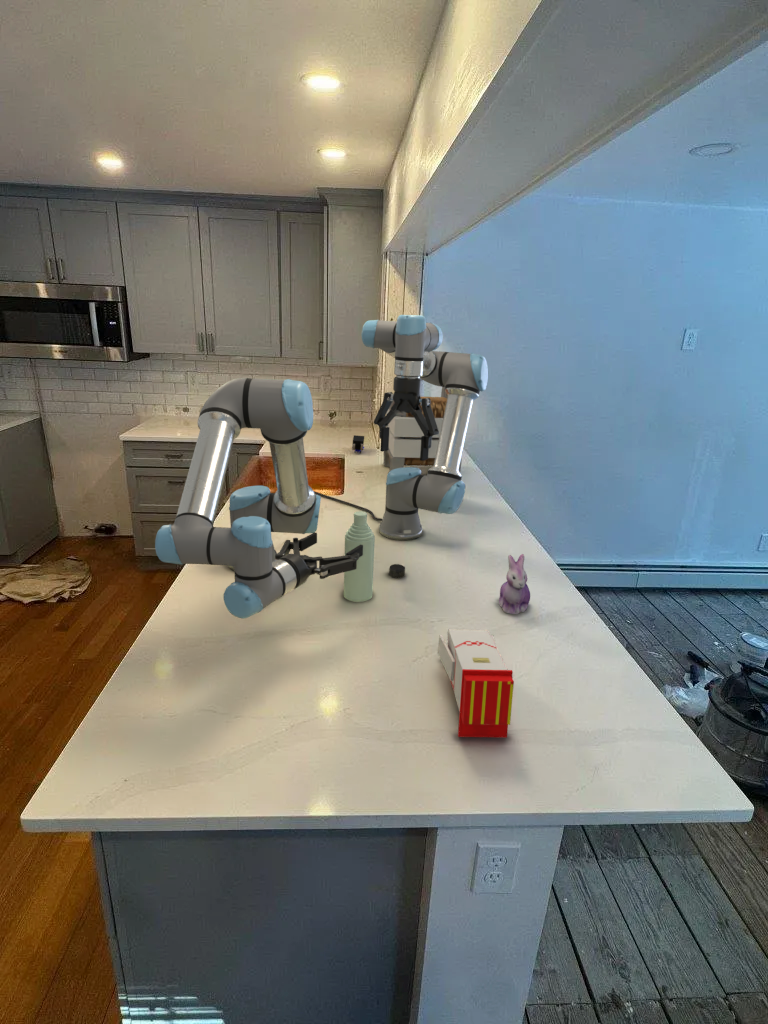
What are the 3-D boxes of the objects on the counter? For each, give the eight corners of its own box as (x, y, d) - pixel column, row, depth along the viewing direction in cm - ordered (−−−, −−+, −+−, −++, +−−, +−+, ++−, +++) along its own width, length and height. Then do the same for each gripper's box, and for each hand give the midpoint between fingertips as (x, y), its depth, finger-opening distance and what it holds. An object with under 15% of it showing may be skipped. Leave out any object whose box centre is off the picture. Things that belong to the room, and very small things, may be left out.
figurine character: (364, 456, 305) (364, 447, 319) (364, 443, 302) (364, 434, 315) (351, 456, 305) (352, 446, 318) (351, 443, 302) (352, 434, 315)
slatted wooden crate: (382, 463, 289) (386, 382, 275) (445, 464, 293) (451, 384, 279) (390, 482, 257) (394, 392, 243) (460, 483, 261) (468, 394, 247)
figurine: (512, 619, 147) (519, 566, 142) (488, 601, 156) (494, 551, 151) (540, 611, 151) (548, 560, 146) (515, 594, 160) (522, 546, 155)
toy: (488, 613, 130) (523, 677, 101) (484, 667, 133) (517, 744, 104) (435, 612, 130) (455, 676, 101) (432, 666, 133) (451, 743, 103)
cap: (386, 572, 170) (387, 565, 170) (401, 570, 172) (401, 563, 171) (392, 579, 166) (392, 571, 165) (407, 577, 168) (407, 569, 167)
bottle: (377, 598, 155) (380, 516, 147) (350, 604, 151) (352, 520, 143) (365, 586, 161) (368, 506, 153) (339, 591, 158) (340, 510, 150)
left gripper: (241, 576, 130) (297, 546, 148) (332, 605, 119) (381, 569, 137) (240, 546, 128) (297, 519, 145) (332, 573, 117) (382, 540, 134)
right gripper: (362, 372, 154) (360, 449, 161) (440, 383, 140) (433, 466, 147) (380, 371, 159) (377, 445, 167) (456, 380, 145) (449, 461, 152)
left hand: (338, 543), depth 141 cm, fingers open, 13 cm apart
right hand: (403, 455), depth 157 cm, fingers open, 13 cm apart
